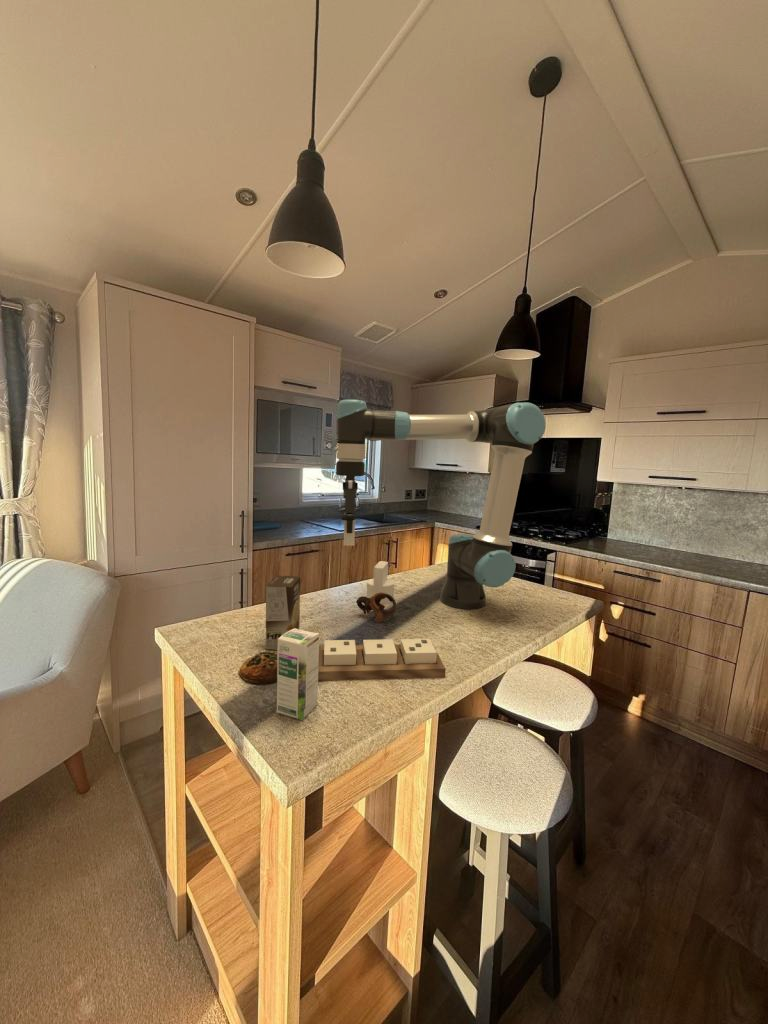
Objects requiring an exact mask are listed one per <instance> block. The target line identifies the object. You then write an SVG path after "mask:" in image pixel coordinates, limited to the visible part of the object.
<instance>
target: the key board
mask: <svg viewBox="0 0 768 1024" xmlns="http://www.w3.org/2000/svg"><path fill="white" fill-rule="evenodd" d="M394 645H395V649H396V652H397V664H374V665H365V662H364V654H363V644H355V647H356V665H328V666H324V645H319V665H318V682H319V681H348V680H349V681H351V680H357V681H358V680H390V679H391V680H392V679H426V678H427V679H429V678H446V667H445V665H444V663H443V661H442V659H441V657H440V655H439V653H438V651H437V649H436V647H435V646H434V644H433V646H434V648H435V650H436V652H437V657H436V663H420V664H405V661H404V658H403V655H402V652H401V649H400V648H401V643H400V644H394Z"/></svg>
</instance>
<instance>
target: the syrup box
mask: <svg viewBox="0 0 768 1024" xmlns="http://www.w3.org/2000/svg"><path fill="white" fill-rule="evenodd" d="M319 646H320V633H319V632H312V631H307V630H303V629H300V628H299V629H295V628H294V629H292V630H290V631H288V632H286V633H285V634H283V635H282V636H281V637H280V638H278V649H277V650H276V652H277V681H276V683H277V686H276V687H277V688H276V689H277V690H276V691H277V692H276V693H277V694H276V713H277V714H282V715H284V716H288V717H292V718H294V719H297V720H300V721H303V720H304V719H305V718H306V717H307V716H308V715H309V714H311V712H312V711H313V710H314V708H315V707H316V706H317V705H318V702H319V701H318V698H319V694H318V692H319V681H318V665H319Z"/></svg>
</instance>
